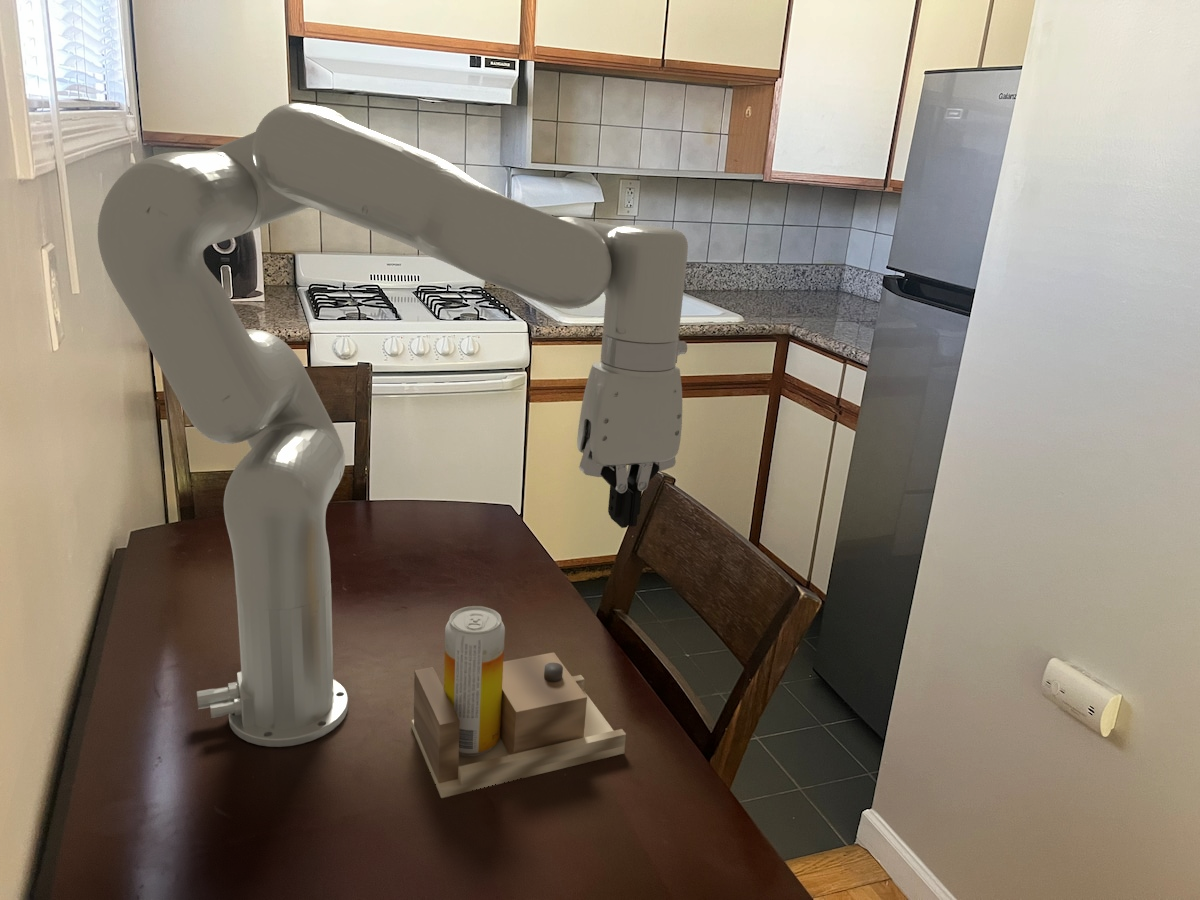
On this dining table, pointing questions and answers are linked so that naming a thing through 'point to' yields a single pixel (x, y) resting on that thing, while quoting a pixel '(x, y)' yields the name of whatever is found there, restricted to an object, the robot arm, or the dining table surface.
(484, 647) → the beer can
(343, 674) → the dining table surface
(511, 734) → the block
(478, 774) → the vise base
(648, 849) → the dining table surface
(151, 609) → the dining table surface
